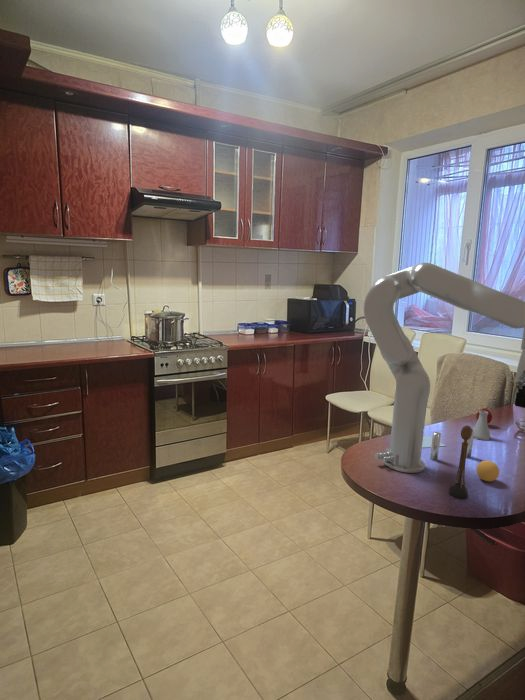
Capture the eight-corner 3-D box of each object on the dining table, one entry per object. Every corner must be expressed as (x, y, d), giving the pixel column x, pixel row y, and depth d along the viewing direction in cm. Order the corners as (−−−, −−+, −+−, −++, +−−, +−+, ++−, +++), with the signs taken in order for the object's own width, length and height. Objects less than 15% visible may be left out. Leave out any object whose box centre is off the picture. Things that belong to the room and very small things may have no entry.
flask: (491, 436, 169) (495, 411, 167) (489, 442, 163) (493, 416, 161) (471, 432, 172) (474, 407, 171) (468, 437, 166) (471, 412, 165)
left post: (432, 460, 143) (436, 434, 142) (428, 457, 146) (431, 432, 144) (439, 460, 144) (442, 434, 142) (434, 457, 146) (437, 431, 145)
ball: (485, 485, 128) (488, 466, 127) (470, 476, 133) (473, 457, 132) (502, 484, 129) (505, 465, 128) (487, 474, 135) (489, 456, 134)
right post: (466, 458, 147) (469, 432, 145) (461, 455, 149) (464, 429, 148) (472, 457, 148) (476, 432, 146) (467, 454, 150) (470, 429, 148)
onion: (492, 428, 177) (495, 409, 176) (477, 427, 179) (480, 408, 177) (488, 423, 183) (491, 405, 182) (473, 422, 184) (476, 403, 183)
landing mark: (421, 448, 154) (421, 447, 154) (404, 437, 163) (404, 436, 163) (445, 446, 156) (445, 445, 156) (428, 435, 166) (428, 435, 166)
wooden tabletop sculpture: (454, 487, 126) (463, 420, 122) (471, 494, 123) (481, 425, 119) (446, 494, 121) (455, 425, 118) (463, 501, 118) (473, 430, 115)
